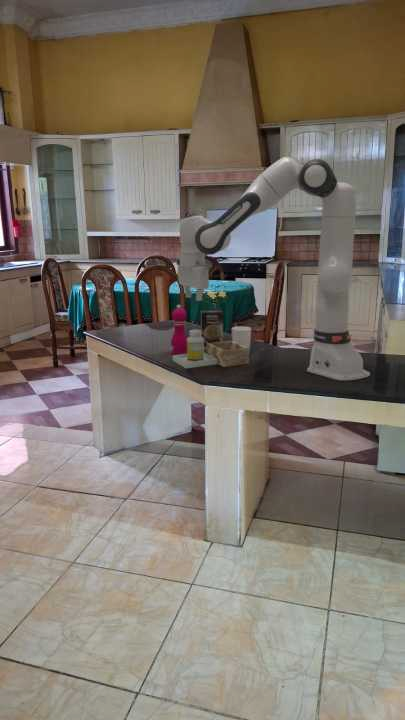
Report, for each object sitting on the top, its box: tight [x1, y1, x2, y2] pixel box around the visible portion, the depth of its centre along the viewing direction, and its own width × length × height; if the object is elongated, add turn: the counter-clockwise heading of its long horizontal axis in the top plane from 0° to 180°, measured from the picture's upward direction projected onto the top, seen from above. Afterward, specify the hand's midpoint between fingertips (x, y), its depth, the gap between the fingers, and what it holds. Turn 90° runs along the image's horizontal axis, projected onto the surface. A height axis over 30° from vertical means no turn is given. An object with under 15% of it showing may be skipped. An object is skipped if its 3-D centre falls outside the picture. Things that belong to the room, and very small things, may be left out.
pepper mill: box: [170, 304, 188, 355], centre depth 217 cm, size 7×7×20 cm
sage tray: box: [172, 352, 219, 369], centre depth 205 cm, size 13×13×2 cm
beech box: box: [206, 340, 250, 368], centre depth 205 cm, size 15×11×6 cm
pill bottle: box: [186, 329, 205, 362], centre depth 203 cm, size 6×6×12 cm
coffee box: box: [200, 309, 224, 351], centre depth 224 cm, size 9×6×16 cm
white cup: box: [231, 326, 252, 353], centre depth 218 cm, size 8×8×10 cm
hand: (193, 299), depth 199 cm, fingers open, 8 cm apart
